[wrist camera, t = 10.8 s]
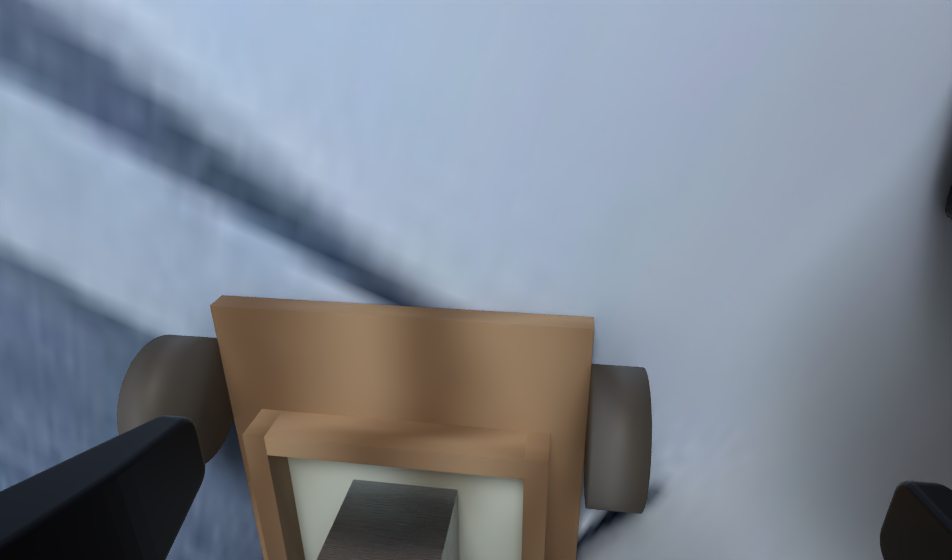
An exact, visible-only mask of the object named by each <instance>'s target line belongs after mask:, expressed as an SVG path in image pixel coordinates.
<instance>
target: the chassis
mask: <svg viewBox="0 0 952 560" xmlns="http://www.w3.org/2000/svg"><path fill="white" fill-rule="evenodd" d="M210 307H211V312H212V317H213V322H214V326H215V331H216V336H217V338H208V337H194V336H179V335H163V336H160V337H157V338H155V339H153V340H152V341H150V342H149V343H147V344H146V345H145V346H144V347H143V348H142V349H141V350H140V351H139V353H138V354H137V355H136V357H135V358H134V360H133V361H132V363H131V365H130V366H129V368H128V370H127V373H126V375H125V377H124V380H123V383H122V386H121V390H120V394H119V400H118V408H117V425H118V432H119V435H121V434H123V433H125V432H127V431H129V430H131V429H133V428H135V427H137V426H140V425H142V424H144V423H146V422H148V421H150V420H152V419H154V418H156V417H159V416H164V415H168V416H179V417H187V418H190V419H191V420H192V421H193V422H194V423H195V426H196V429H197V433H198V437H199V441H200V445H201V450H202V454H203V458H204V462H205V463H207V462H208V461H209V460H210V459H212V458H213V456H214V455H215V454H216V453H217V452H218V450H219V449H220V447H221V446H222V444H223V442H224V441H225V439H226V437H227V435H228V432H229V430H230V427H231V424H232V421H233V418H234V421H235V425H236V430H237V435H238V440H239V444H240V449H241V454H242V459H243V463H244V468H245V473H246V477H247V482H248V487H249V492H250V496H251V501H252V506H253V511H254V515H255V520H256V525H257V529H258V534H259V539H260V544H261V548H262V553H263V558H264V560H317V557H318V555H319V553H320V551H321V549H322V547H323V544H324V542H325V540H326V538H327V536H328V533H329V531H330V529H331V527H332V525H333V523H334V520H335V518H336V516H337V514H338V512H339V510H340V507H341V505H342V503H343V501H344V499H345V496H346V494H347V492H348V490H349V488H350V486H351V483H352V481H353V479H355V480H365V481H375V482H385V483H396V484H406V485H416V486H426V487H436V488H446V489H456V490H458V518H459V553H460V560H576V552H577V539H578V527H579V514H580V501H581V489H582V476H583V464H584V494H585V506H586V508H589V509H599V510H609V511H619V512H629V513H639V514H641V513H642V512H643V510H644V508H645V504H646V500H647V494H648V487H649V478H650V466H651V446H652V415H651V397H650V387H649V380H648V375H647V372H646V370H645V368H643V367H629V366H614V365H600V364H591V363H592V351H593V338H594V317H579V316H562V315H545V314H528V313H511V312H494V311H477V310H460V309H443V308H426V307H409V306H392V305H375V304H358V303H341V302H324V301H307V300H290V299H273V298H256V297H239V296H221V297H220V298H219V299H217V300H216V301H215V302H214V303H213V304H212V305H210ZM584 451H585V458H584Z"/></svg>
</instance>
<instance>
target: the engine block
mask: <svg viewBox="0 0 952 560" xmlns="http://www.w3.org/2000/svg"><path fill="white" fill-rule="evenodd" d="M317 560H460V553H459V518H458V490H456V489H446V488H436V487H426V486H416V485H406V484H396V483H385V482H375V481H365V480H355V479H353V481H352V483H351V486H350V488H349V490H348V492H347V494H346V496H345V499H344V501H343V503H342V505H341V507H340V510H339V512H338V514H337V516H336V518H335V520H334V523H333V525H332V527H331V529H330V531H329V533H328V536H327V538H326V540H325V542H324V544H323V547H322V549H321V551H320V553H319V555H318V557H317Z"/></svg>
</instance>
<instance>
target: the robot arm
mask: <svg viewBox="0 0 952 560" xmlns="http://www.w3.org/2000/svg"><path fill="white" fill-rule="evenodd" d="M945 212H946V214H947V216H948V217H949V218H950V219H951V220H952V187H951V190H950V193H949V196H948V199H947V202H946V208H945ZM204 474H205V462H204V458H203V454H202V450H201V445H200V441H199V437H198V433H197V429H196V426H195V423H194V422H193V421H192V420H191V419H190V418H187V417H179V416H168V415H164V416H159V417H156V418H154V419H152V420H150V421H148V422H146V423H144V424H142V425H140V426H137V427H135V428H133V429H131V430H129V431H127V432H125V433H123V434H121V435H118V436H116V437H114V438H112V439H110V440H108V441H106V442H104V443H102V444H99V445H97V446H95V447H93V448H91V449H89V450H87V451H85V452H83V453H81V454H78V455H76V456H74V457H72V458H70V459H68V460H66V461H64V462H62V463H59V464H57V465H55V466H53V467H51V468H49V469H47V470H45V471H43V472H41V473H38V474H36V475H34V476H32V477H30V478H28V479H26V480H24V481H22V482H19V483H17V484H15V485H13V486H11V487H9V488H7V489H5V490H3V491H1V492H0V560H165V559H166V557H167V555H168V553H169V551H170V549H171V547H172V545H173V543H174V540H175V538H176V536H177V534H178V532H179V530H180V528H181V526H182V524H183V522H184V520H185V517H186V515H187V513H188V511H189V509H190V507H191V505H192V503H193V501H194V499H195V496H196V494H197V492H198V490H199V488H200V486H201V484H202V481H203V478H204ZM880 546H881V551H882V555H883V558H884V560H952V490H950V489H949V488H947V487H945V486H944V485H941V484H937V483H928V482H917V481H905V482H902V483H900V484H899V485H898V486H897V488H896V490H895V492H894V495H893V498H892V500H891V503H890V506H889V509H888V512H887V514H886V517H885V520H884V523H883V526H882V528H881V533H880Z"/></svg>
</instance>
